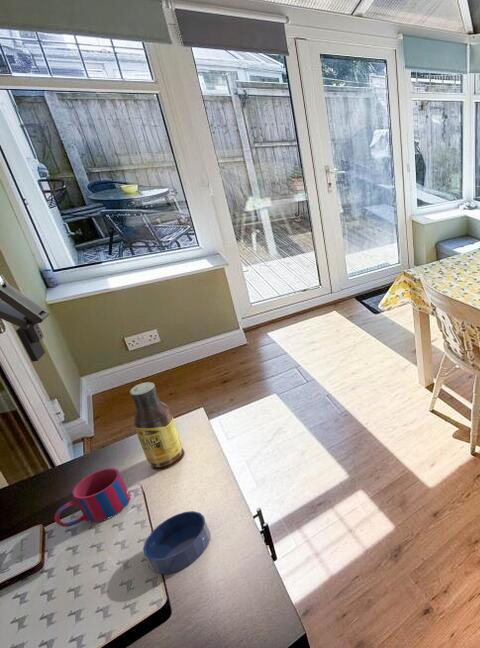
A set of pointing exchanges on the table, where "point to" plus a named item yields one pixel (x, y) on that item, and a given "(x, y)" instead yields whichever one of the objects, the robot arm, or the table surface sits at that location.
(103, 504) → the mug
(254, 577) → the table surface
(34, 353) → the robot arm
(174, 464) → the coaster
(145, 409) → the sauce bottle
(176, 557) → the bowl
